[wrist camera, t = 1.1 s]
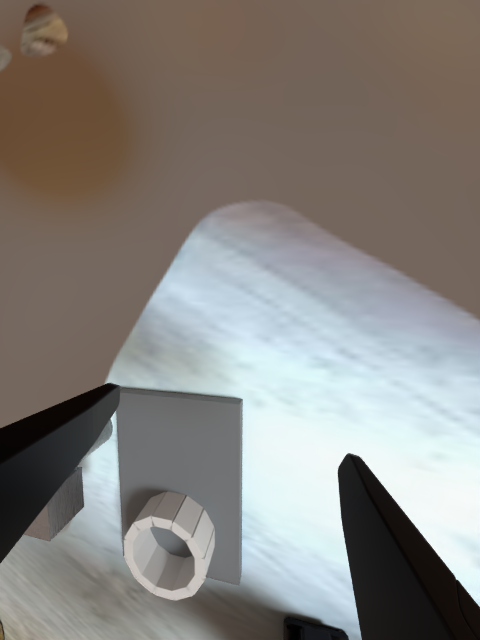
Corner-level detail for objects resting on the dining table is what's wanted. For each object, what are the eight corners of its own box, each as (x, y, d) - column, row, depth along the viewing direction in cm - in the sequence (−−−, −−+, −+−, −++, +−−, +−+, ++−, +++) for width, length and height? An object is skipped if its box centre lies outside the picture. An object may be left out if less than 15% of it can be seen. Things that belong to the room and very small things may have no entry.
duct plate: (241, 572, 26) (232, 624, 22) (130, 545, 29) (103, 585, 25) (242, 399, 24) (233, 419, 20) (123, 387, 27) (93, 404, 23)
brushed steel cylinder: (78, 405, 28) (-31, 460, 19) (111, 408, 28) (14, 469, 18) (83, 472, 29) (-20, 559, 20) (114, 478, 28) (24, 573, 19)
